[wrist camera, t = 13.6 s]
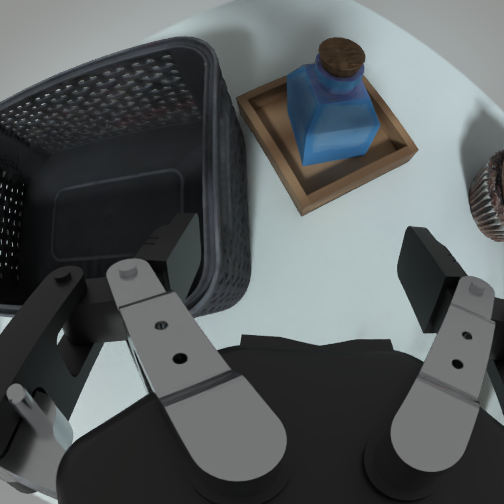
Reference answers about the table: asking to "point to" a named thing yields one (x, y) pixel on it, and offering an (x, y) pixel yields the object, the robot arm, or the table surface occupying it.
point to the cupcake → (489, 198)
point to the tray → (328, 173)
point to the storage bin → (124, 171)
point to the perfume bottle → (331, 104)
